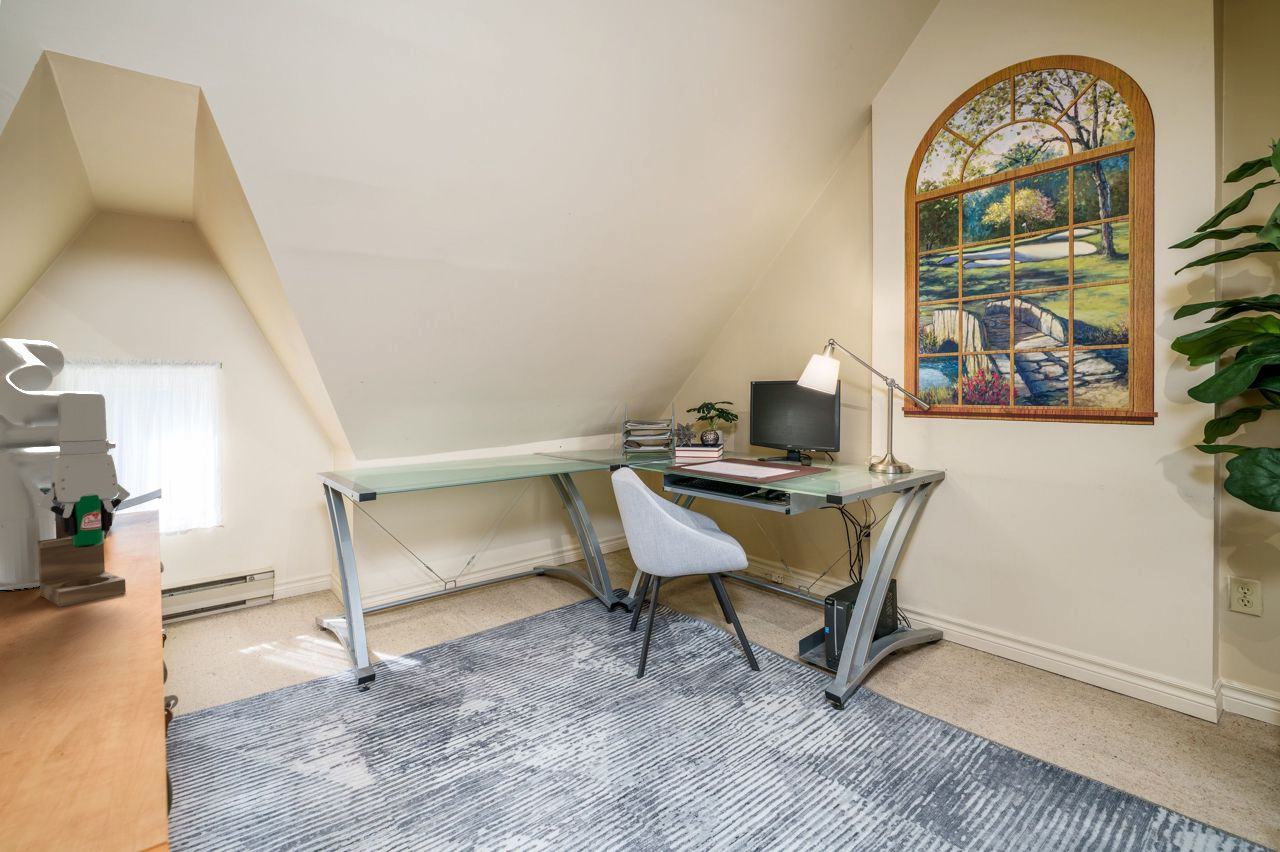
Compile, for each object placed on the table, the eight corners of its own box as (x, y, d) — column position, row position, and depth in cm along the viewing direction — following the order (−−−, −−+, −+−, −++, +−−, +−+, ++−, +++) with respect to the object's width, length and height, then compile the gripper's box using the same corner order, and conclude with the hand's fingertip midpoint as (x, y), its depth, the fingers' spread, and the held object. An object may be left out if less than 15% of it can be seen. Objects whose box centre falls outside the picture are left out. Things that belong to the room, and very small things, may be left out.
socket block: (40, 595, 128) (37, 541, 128) (102, 583, 137) (100, 531, 137) (61, 606, 121) (58, 548, 121) (125, 592, 130) (123, 538, 130)
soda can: (84, 548, 125) (81, 492, 124) (65, 547, 126) (63, 491, 125) (110, 543, 130) (107, 488, 129) (92, 542, 131) (89, 488, 130)
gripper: (127, 446, 136) (130, 524, 137) (22, 451, 122) (27, 538, 122) (140, 447, 132) (143, 527, 133) (34, 452, 118) (38, 542, 119)
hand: (87, 531), depth 128 cm, fingers closed on soda can, 5 cm apart
